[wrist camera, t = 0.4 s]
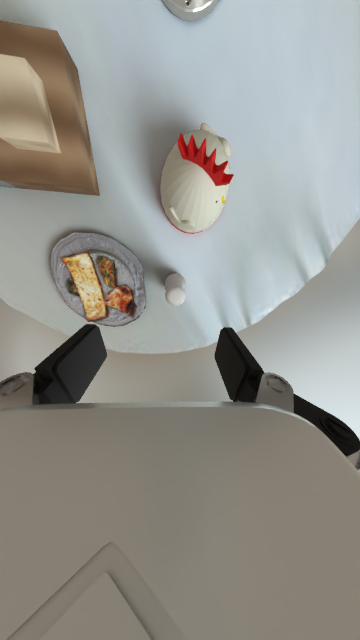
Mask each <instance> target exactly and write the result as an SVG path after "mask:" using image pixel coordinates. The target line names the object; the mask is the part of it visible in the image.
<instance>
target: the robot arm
mask: <svg viewBox="0 0 360 640" xmlns="http://www.w3.org/2000/svg"><path fill="white" fill-rule="evenodd" d="M163 2H164V4H165V5H166V6H167V7H168V8H169V10H170V11H171V12H172V13H173V14H174V15H176V16H177V17H179V18H180V19H183V20H187V21H196V20H199V19H201V18H203V17H205V16H206V15H207V14H208V13H209V12H211V11H212V10H213V8H214V7H215V6H216V4H217V3H218V2H219V0H163ZM106 357H107V352H106V349H105V346H104V342H103V339H102V336H101V332H100V329H99V327H98V326H96V325H95V324H86V325H84V326H83V327H82V328H81V329H80V330H79V331H77V332H76V333H75V334H74V335H73V336H72V337H70V338H69V339H68V340H67V341H66V342H65V343H63V344H62V345H61V346H60V347H59V348H57V349H56V350H55V351H54V352H53V353H52V354H50V355H49V356H48V357H47V358H46V359H45V360H44V361H42V362H41V363H40V364H39V365H38V366H36V367H35V370H36V373H35V374H32V373H28V372H25V373H20V374H16V375H13V376H11V377H9V378H6V379H5V380H3V381H1V382H0V640H360V441H359V439H358V437H357V436H356V434H355V433H354V432H353V431H352V430H351V429H350V428H349V427H348V426H347V425H346V424H345V423H343V422H342V421H341V420H339V419H338V418H336V417H335V416H333V415H331V414H329V413H327V412H326V411H324V410H322V409H320V408H319V407H317V406H315V405H313V404H311V403H310V402H308V401H306V400H304V399H302V398H301V397H299V396H297V395H295V394H293V389H292V387H291V385H290V384H289V383H288V382H287V381H286V380H285V379H284V378H282V377H280V376H279V375H276V374H274V373H264V371H263V370H262V368H261V367H260V365H259V364H258V363H257V361H256V360H255V358H254V357H253V356H252V354H251V353H250V352H249V350H248V349H247V348H246V346H245V345H244V344H243V342H242V341H241V339H240V338H239V337H238V335H237V334H236V333H235V331H234V330H233V329H232V328H227V327H224V328H223V329H221V331H220V335H219V339H218V343H217V347H216V351H215V360H216V362H217V365H218V368H219V371H220V373H221V376H222V379H223V381H224V384H225V387H226V389H227V392H228V395H229V397H230V399H231V400H233V402H130V403H76V402H78V401H79V400H80V399H81V397H82V396H83V394H84V393H85V391H86V389H87V388H88V386H89V384H90V383H91V381H92V380H93V378H94V376H95V375H96V373H97V372H98V370H99V369H100V367H101V365H102V364H103V362H104V361H105V359H106Z"/></svg>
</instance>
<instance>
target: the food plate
mask: <svg viewBox="0 0 360 640" xmlns="http://www.w3.org/2000/svg"><path fill="white" fill-rule="evenodd" d="M90 254H107V255H109V256H111V257H113V258H114V259H116V260H118V261H120V262H121V263H120V264H121V266H120V269H119V270H118V268H115V264H114V262H115V260H114V261H113V260H110V259H109V258H108V257H105V256H102V257H99V256H98V258H97V259H98V261H97V263H98V265H97V266H96V264H95V263H94V261H93V258H92V257H90ZM118 263H119V262H118ZM123 265H124V266H125V267H124V269H123ZM121 267H122V269H121ZM51 269H52V271H51V273H53V274H52V276H54V277H53V278H55V279H54V281H55V283H56V285H57V287H58V289H59V291H60V293H61V295H62V296H63V299H64V301H65V302H66V304H67V305H68V306H69V307H70V308H71V309H72V310H74V311H75V312H76V313H78V314H80V315H81V316H82V317H84V318H85V319H86V320H87V322H90V321H92V322H95V323H97V324H100V325H105V326H113V327H116V326H123V325H126V324H128V323H130V322H132V321H134V320H136V319H137V318H138V317H139V315H140V314H141V313H142V312H143V309H144V308H145V306H146V295H145V285H144V276H143V267H142V265H141V263H140V262H139V260H138V259H137V257H136V256H135V255H134V254H133V253H132V252H131V251H130V250H129V249H127V248H126V247H124V246H122V245H121V244H120V243H118V242H117V241H116V240H114V239H112V238H109V237H107V236H104V235H102V234H101V235H100V234H95V233H75V232H74V233H71V234H69V235H68V236H66V237H65V238H63V239H61V240H60V241H59V242H58V243H57V244H56V245H55V247H54V248H53V251H52V255H51ZM97 269H98V270H97ZM116 270H117V271H116ZM125 275H126V276H127V275H128V277H126V276H125ZM129 275H130V276H129ZM125 278H126V280H125ZM128 282H129V283H128Z"/></svg>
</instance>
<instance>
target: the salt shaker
mask: <svg viewBox="0 0 360 640" xmlns="http://www.w3.org/2000/svg"><path fill="white" fill-rule="evenodd" d="M185 287H186V281H185V279H184V277H182V276H181V275H180V274H175V273H174V274H171V275H169V276H168V277H167V278H166V280H165V289H166V293H165V297H166V300H167V302H168V303H169V304H171V305H174V306H178V305H181V304H182V303H183V302H184V300H185V298H186V292H185V291H184V290H185Z"/></svg>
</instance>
